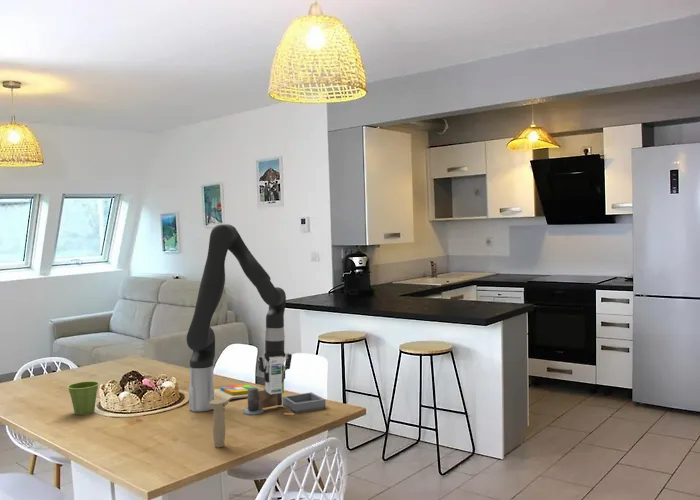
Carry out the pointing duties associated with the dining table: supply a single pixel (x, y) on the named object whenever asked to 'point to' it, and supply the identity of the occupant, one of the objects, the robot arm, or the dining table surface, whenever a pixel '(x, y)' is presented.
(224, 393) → the wooden puzzle
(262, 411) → the crank base
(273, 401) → the crank lever
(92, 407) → the plant pot
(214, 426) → the handle
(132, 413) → the dining table surface
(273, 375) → the syrup box
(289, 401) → the grey tray
